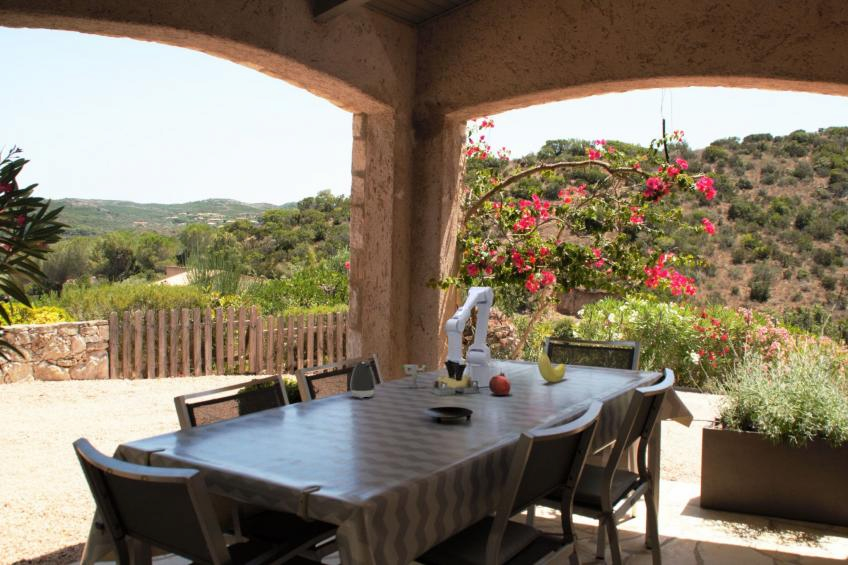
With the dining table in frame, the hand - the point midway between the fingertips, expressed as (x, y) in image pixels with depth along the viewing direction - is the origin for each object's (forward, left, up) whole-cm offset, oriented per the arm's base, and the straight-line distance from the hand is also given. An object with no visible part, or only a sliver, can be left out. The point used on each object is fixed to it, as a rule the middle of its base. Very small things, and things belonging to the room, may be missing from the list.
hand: (455, 379), depth 301 cm
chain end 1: (+6, 0, -6) cm, 8 cm away
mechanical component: (+12, -17, -6) cm, 22 cm away
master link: (0, 0, -3) cm, 3 cm away
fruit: (-15, +12, -6) cm, 20 cm away
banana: (-51, -6, -6) cm, 52 cm away
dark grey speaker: (+39, -5, -6) cm, 40 cm away
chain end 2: (-5, 0, -6) cm, 8 cm away
